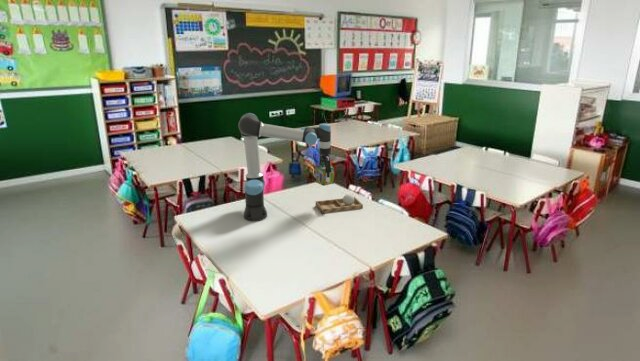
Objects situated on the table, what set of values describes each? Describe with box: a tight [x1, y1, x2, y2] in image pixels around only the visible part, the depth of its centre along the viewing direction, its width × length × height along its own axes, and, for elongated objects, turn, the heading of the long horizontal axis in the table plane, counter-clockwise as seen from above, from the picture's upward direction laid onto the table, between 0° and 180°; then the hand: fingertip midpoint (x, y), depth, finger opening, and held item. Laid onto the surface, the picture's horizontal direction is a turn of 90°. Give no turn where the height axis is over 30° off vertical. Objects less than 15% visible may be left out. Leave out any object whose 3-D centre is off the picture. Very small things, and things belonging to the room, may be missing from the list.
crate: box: [315, 196, 364, 215], centre depth 280 cm, size 29×15×4 cm, turn 107°
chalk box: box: [315, 162, 335, 187], centre depth 275 cm, size 9×9×15 cm
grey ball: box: [342, 193, 355, 206], centre depth 281 cm, size 8×8×8 cm
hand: (324, 179), depth 276 cm, fingers closed on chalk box, 10 cm apart
